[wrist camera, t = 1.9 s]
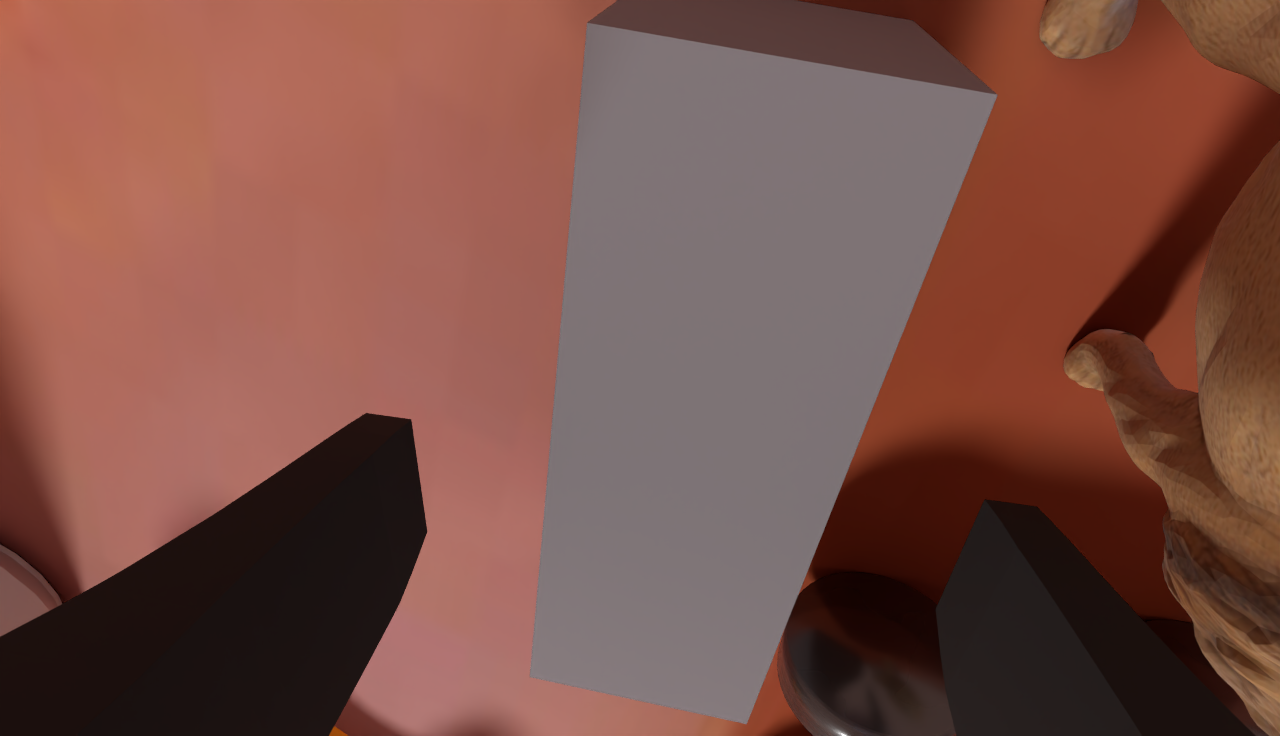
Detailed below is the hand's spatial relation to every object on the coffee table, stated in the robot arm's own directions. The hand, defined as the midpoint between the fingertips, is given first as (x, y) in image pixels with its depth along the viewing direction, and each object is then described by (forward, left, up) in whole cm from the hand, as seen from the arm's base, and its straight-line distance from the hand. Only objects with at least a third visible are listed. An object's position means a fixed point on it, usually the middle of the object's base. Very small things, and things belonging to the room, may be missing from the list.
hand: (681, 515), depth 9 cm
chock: (0, 0, -6) cm, 6 cm away
